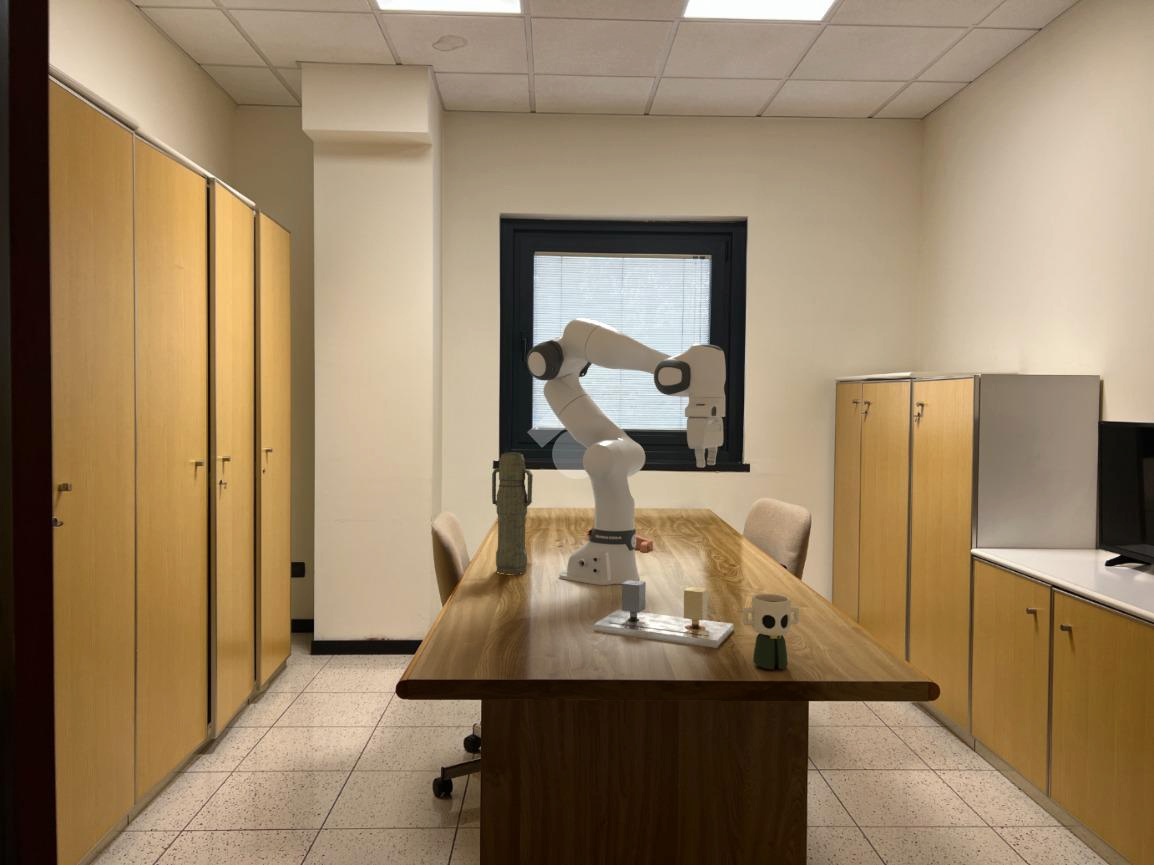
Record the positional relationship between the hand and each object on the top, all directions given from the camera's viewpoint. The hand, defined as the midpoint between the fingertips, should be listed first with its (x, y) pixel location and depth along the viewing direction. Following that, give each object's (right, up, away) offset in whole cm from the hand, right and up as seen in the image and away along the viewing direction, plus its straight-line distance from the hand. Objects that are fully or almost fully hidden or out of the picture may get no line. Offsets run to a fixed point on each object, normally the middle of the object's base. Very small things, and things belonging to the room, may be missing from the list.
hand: (706, 466), depth 195 cm
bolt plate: (-13, -35, -23) cm, 43 cm away
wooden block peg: (-6, -33, -26) cm, 42 cm away
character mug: (+5, -36, -46) cm, 59 cm away
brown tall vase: (-51, -33, +35) cm, 70 cm away
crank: (-17, -32, +74) cm, 82 cm away
